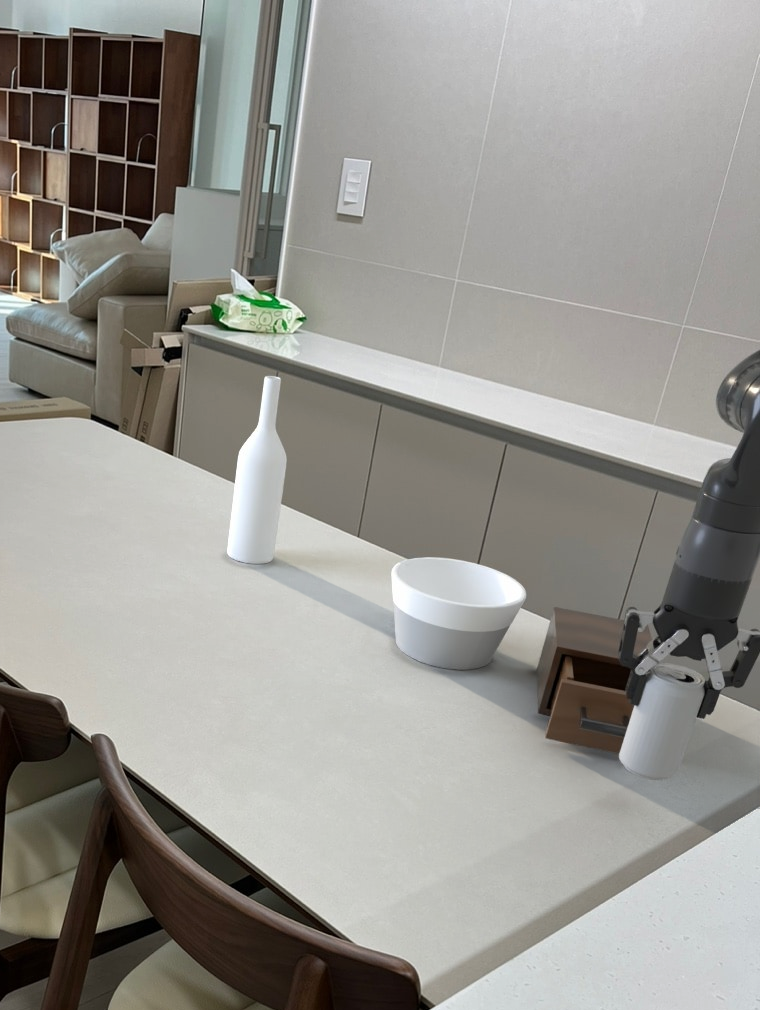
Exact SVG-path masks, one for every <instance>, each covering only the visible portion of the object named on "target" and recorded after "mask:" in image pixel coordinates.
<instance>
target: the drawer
mask: <svg viewBox="0 0 760 1010" xmlns="http://www.w3.org/2000/svg"><path fill="white" fill-rule="evenodd" d="M630 673H631V669H630V668H628V667H624V666H622V665H616V664H611V663H606V662H601V661H596V660H591V659H586V658H581V657H576V656H571V655H565V654H562V656H561V660H560V663H559V667H558V670H557V674H556V677H555V681H554V684H553V687H552V691H551V716H549V720H548V724H547V726H546V730H545V739H547V740H550V741H551V740H552V741H556V742H561V743H566V744H571V745H576V746H579V747H585V748H589V749H594V750H599V751H604V752H608V753H613V754H618V755H619V753H620V750H621V747H622V744H623V741H624V737H625V734H626V731H627V728H628V725H629V721H630V718H631V715H632V712H633V709H634V705H630V701H629V699H627V696H626V690H625V689H626V685H627V682H628V679H629V676H630Z"/></svg>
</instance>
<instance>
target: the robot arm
mask: <svg viewBox="0 0 760 1010" xmlns="http://www.w3.org/2000/svg"><path fill="white" fill-rule="evenodd" d="M715 408H716V411H717V414H718V415H719V418H720V419H721V420H722V421H723V422H724V424H726V425H727V426H729V427H730V428H732V429H734V430H736V431H738V432H739V433H742V437H741V439H740V440H739V443H738V445H737V447H736V449H735V451H734V452H733V454H732V456H731V457H730V458H722V459H719V460H717V461H715V462H713V463H712V464H711V465H710V466H709V467H708V469H707V471H706V473H705V475H704V478H703V481H702V484H701V486H700V489H699V493H698V496H697V498H696V502H695V506H694V508H693V512H692V514H691V517H690V520H689V522H688V524H687V526H686V528H685V530H684V532H683V535H682V538H681V540H680V544H679V545H678V547H677V549H676V553H675V559H674V563H673V566H672V569H671V571H670V575H669V578H668V581H667V585H666V588H665V590H664V594H663V597H662V600H661V602H660V605H659V606H658V607H656V609H655V610H654V611H642V610H638V609H637V607H635V606H629V607H628V608H626V610H625V612H624V613H625V614H624V619H623V620H624V624H623V629H622V634H621V639H620V645H619V650H618V656H619V662H620V664H621V665H622V666H624V667H628V668H630V669H631V673H630V676H629V679H628V682H627V685H626V689H625V690H626V696H627V699H629V701H630V705H635V706H637V705H638V702H639V699H640V696H641V693H642V690H643V687H644V684H645V681H646V678H647V676H646V672H648V671H649V670H650V669H651V668H652V667H653V666H654V665H655V664H656V663H662V662H663V660H664V659H665V658H666V657H667V656H668V655H670V657H675V658H676V657H678V658H681V657H684V658H685V657H686V658H689V659H691V660H693V661H698V662H702V660H704V661H705V665H706V669H707V673H708V680H706V679H705V683H704V685H703V687H704V690H705V694H704V697H703V700H702V703H701V706H700V709H699V712H698V715H697V717H696V719H701V720H704V719H706V716H707V715H708V716H711V715H712V714H713V713H714V711H715V708H716V705H717V703H718V700H719V697H720V694H721V692H722V691H723V690H724V689H726V688H731V687H733V688H735V689H741V688H742V687H743V686H744V685H745V684H746V682H747V680H748V678H749V675H750V673H751V672H752V670H753V668H754V665H755V664H756V662H757V659H758V658H759V656H760V630H759V629H757V628H751V629H750V630H749V629H744V628H742V627H741V628H740V627H739V626H738V620H739V617H740V614H741V613H742V609H743V606H744V604H745V600H746V598H747V595H748V592H749V589H750V586H751V583H752V581H753V578H754V575H755V572H756V569H757V567H758V565H759V561H760V349H758V350H756V351H755V352H752V353H751V354H750V355H748V356H746V357H745V358H743V359H742V360H741V361H739V362H738V363H737V364H736V365H735V366H734V367H733V368H731V369H730V371H729V372H727V374H726V376H725V377H724V378H723V380H722V381H721V383H720V385H719V387H718V389H717V392H716V397H715ZM650 624H652V625H653V627H654V630H655V632H656V633H657V634H656V635H655V636H654V637H652V640H651V641H650V642H649V643H648V644H647V646H646V648H645V649H644V650H643V651H642V652H641V653H640V654H639V655H635V654H633V652H634V647H635V642H636V637H637V632H642V631H644V629H645V627H646V626H647V625H648V626H649V625H650ZM735 639H736V640H737V642H736V644H737V647H738V649H739V650H738V652H737V655H736V656H735V658H734V661H733V663H732V665H731V667H730V668H729V670H726V671H723V670H722V665H721V661H720V656H719V651H720V650H722V649H723V648H724V647H726V646H727V645H729V644H730V643H732V642H733V641H734V640H735Z"/></svg>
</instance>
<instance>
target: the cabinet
mask: <svg viewBox="0 0 760 1010" xmlns="http://www.w3.org/2000/svg"><path fill="white" fill-rule="evenodd" d="M623 624H624V619H620V618H617V617H616V618H615V617H610V616H605V615H601V614H595V613H588V612H584V611H579V610H573V609H568V608H562V607H557V606H553V610H552V613H551V617H550V620H549V623H548V628H547V631H546V635H545V638H544V641H543V646H542V649H541V652H540V656H539V659H538V663H537V667H536V687H537V689H536V690H537V691H536V692H537V694H536V695H537V714H540V715H545V716H549V717H550V716H551V691H552V687H553V684H554V681H555V677H556V674H557V670H558V667H559V663H560V660H561V656H562V654H565V655H571V656H576V657H581V658H586V659H591V660H596V661H601V662H606V663H611V664H616V665H621V664H620V662H619V656H618V650H619V645H620V639H621V634H622V629H623ZM652 639H653V637H652V634H651V631H650V626H649V624H648V625H647V626H646V627H645V629H644V631H642V632H637V637H636V642H635V647H634V652H633V654H635V655H639V654H640V653H641V652H642V651H643V650H644V649H645V648H646V646H647V644H648V643H649V642H650V641H651V640H652ZM656 664H657V663H656ZM648 672H649V671H648ZM648 672H646V673H648Z"/></svg>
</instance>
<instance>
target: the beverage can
mask: <svg viewBox="0 0 760 1010" xmlns="http://www.w3.org/2000/svg"><path fill="white" fill-rule="evenodd" d="M646 676H647V678H646V681H645V684H644V687H643V690H642V693H641V696H640V699H639V702H638V705H637V706H635V705H634V709H633V712H632V715H631V718H630V721H629V725H628V728H627V731H626V734H625V737H624V741H623V744H622V747H621V750H620V753H619V754H618V758H619V761H620V763H621V764H622V765H623V766H624V768H625V769H626V770H627V771H628V772H630V773H631V774H633V775H635V776H637V777H640V778H642V779H645V780H650V781H664V780H668V779H669V778H673V777H674V776H676V775H677V774H678V772H679V770H680V766H681V763H682V761H683V758H684V755H685V752H686V749H687V746H688V743H689V740H690V737H691V735H692V732H693V729H694V726H695V723H696V721H697V715H698V712H699V709H700V706H701V703H702V700H703V697H704V694H705V690H704V687H703V685H704V683H705V680H706V679H705V677H704V675H702V674H701V673H699V672H698V671H697V670H693V669H692V668H690V667H686V666H684V665H680V664H677V663H667V662H659V663H657V664H655V665H654V666H653V667H652V668H651V669H650V670H649V672H648V673H646Z"/></svg>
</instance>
